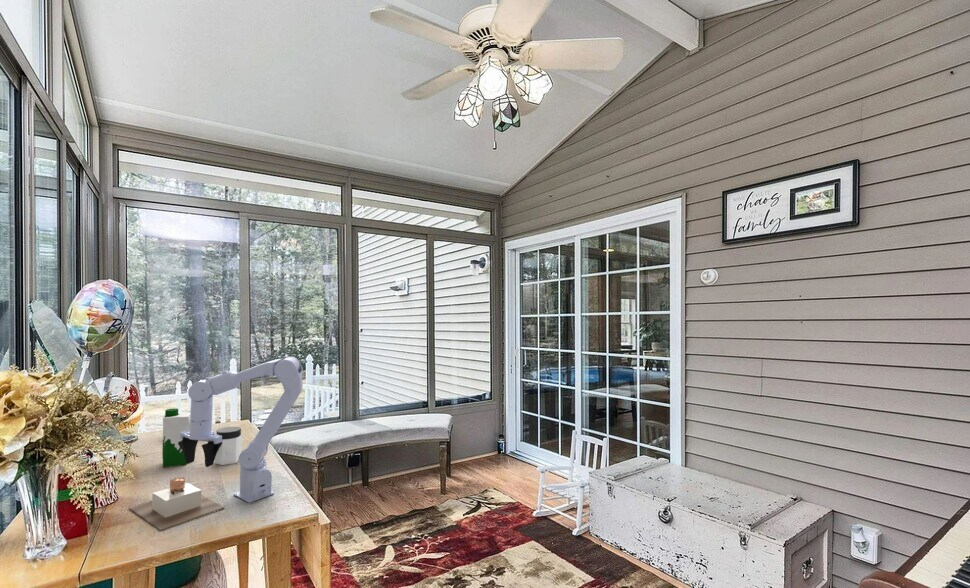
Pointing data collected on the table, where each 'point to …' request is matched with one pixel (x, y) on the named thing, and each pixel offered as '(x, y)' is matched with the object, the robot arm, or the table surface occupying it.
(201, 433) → the robot arm
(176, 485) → the plunger
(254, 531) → the table surface
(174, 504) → the hollow square block
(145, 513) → the board
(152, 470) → the table surface
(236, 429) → the jar
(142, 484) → the table surface
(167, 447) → the milk carton
